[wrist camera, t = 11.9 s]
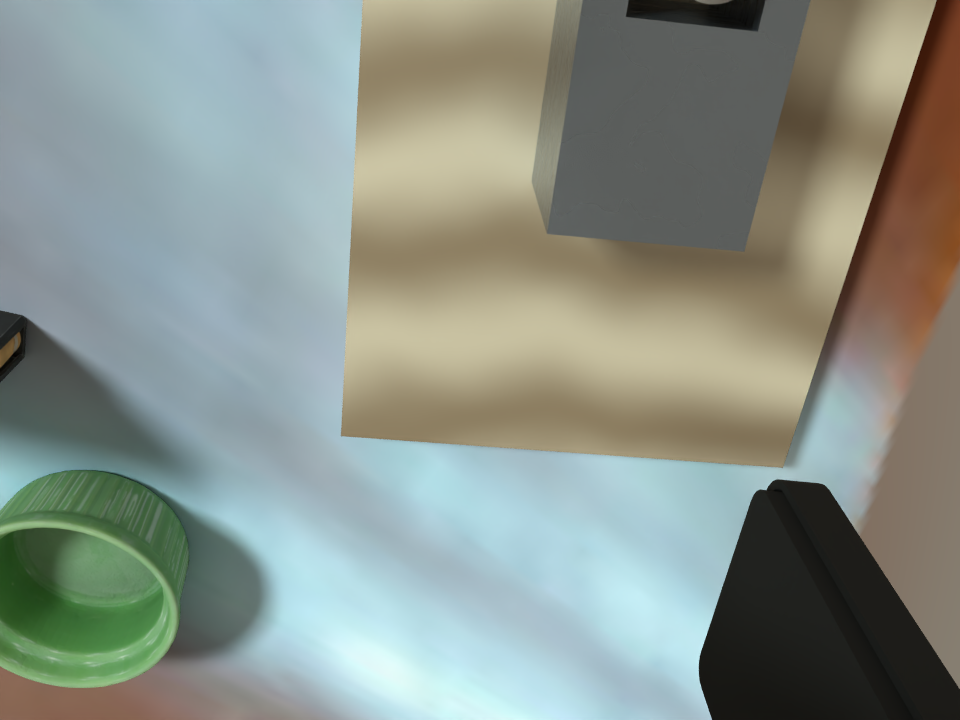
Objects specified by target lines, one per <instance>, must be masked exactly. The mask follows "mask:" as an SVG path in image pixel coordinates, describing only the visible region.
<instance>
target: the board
mask: <svg viewBox="0 0 960 720" xmlns="http://www.w3.org/2000/svg"><path fill="white" fill-rule="evenodd" d="M667 1H676V2H685V3H694V4H703V5H709V4H722V3H726V2H729V1H732V0H667ZM936 1H937V0H811V1H810V5H809V9H808V12H807V16H806V20H805V24H804V28H803V31H802V35H801V39H800V43H799V47H798V50H797V54H796V58H795V62H794V65H793V69H792V73H791V77H790V81H789V84H788V88H787V92H786V96H785V100H784V103H783V107H782V111H781V115H780V119H779V122H778V126H777V130H776V134H775V137H774V141H773V145H772V149H771V153H770V156H769V160H768V164H767V168H766V172H765V175H764V179H763V183H762V187H761V190H760V194H759V198H758V202H757V206H756V209H755V213H754V217H753V221H752V225H751V228H750V232H749V236H748V240H747V244H746V247H745V251H744V252H742V251H731V250H720V249H708V248H697V247H686V246H675V245H664V244H652V243H641V242H630V241H619V240H608V239H596V238H585V237H574V236H563V235H551V234H547V233H546V229H545V226H544V222H543V219H542V216H541V212H540V209H539V205H538V202H537V199H536V195H535V192H534V188H533V185H532V182H531V181H532V174H533V167H534V160H535V153H536V146H537V139H538V132H539V124H540V117H541V110H542V103H543V96H544V89H545V82H546V75H547V67H548V60H549V53H550V46H551V39H552V32H553V25H554V18H555V10H556V3H557V0H363V7H362V27H361V47H360V67H359V87H358V107H357V127H356V147H355V168H354V188H353V208H352V228H351V248H350V268H349V288H348V308H347V328H346V348H345V368H344V388H343V408H342V428H341V436H348V437H362V438H376V439H390V440H404V441H418V442H432V443H446V444H460V445H473V446H487V447H501V448H515V449H529V450H543V451H557V452H571V453H585V454H599V455H613V456H627V457H641V458H655V459H669V460H683V461H697V462H711V463H725V464H739V465H753V466H767V467H781V468H783V466H784V463H785V460H786V457H787V454H788V450H789V447H790V444H791V441H792V438H793V435H794V432H795V429H796V426H797V423H798V420H799V417H800V414H801V411H802V408H803V405H804V402H805V399H806V396H807V393H808V390H809V387H810V384H811V381H812V378H813V375H814V371H815V368H816V365H817V362H818V359H819V356H820V353H821V350H822V347H823V344H824V341H825V338H826V335H827V332H828V329H829V326H830V323H831V320H832V317H833V314H834V311H835V308H836V305H837V302H838V299H839V296H840V292H841V289H842V286H843V283H844V280H845V277H846V274H847V271H848V268H849V265H850V262H851V259H852V256H853V253H854V250H855V247H856V244H857V241H858V238H859V235H860V232H861V229H862V226H863V223H864V220H865V217H866V214H867V210H868V207H869V204H870V201H871V198H872V195H873V192H874V189H875V186H876V183H877V180H878V177H879V174H880V171H881V168H882V165H883V162H884V159H885V156H886V153H887V150H888V147H889V144H890V141H891V138H892V135H893V131H894V128H895V125H896V122H897V119H898V116H899V113H900V110H901V107H902V104H903V101H904V98H905V95H906V92H907V89H908V86H909V83H910V80H911V77H912V74H913V71H914V68H915V65H916V62H917V59H918V56H919V52H920V49H921V46H922V43H923V40H924V37H925V34H926V31H927V28H928V25H929V22H930V19H931V16H932V13H933V10H934V7H935V4H936Z"/></svg>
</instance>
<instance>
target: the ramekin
mask: <svg viewBox="0 0 960 720" xmlns="http://www.w3.org/2000/svg"><path fill="white" fill-rule="evenodd" d="M188 563H189V548H188V541H187V537H186V534H185V531H184V528H183V527H182V525H181V522H180V521H179V519H178V518H177V516H176V514H175V513H174V512H173V511H172V509H171V508H170V507H169V506H168V505H167V504H166V503H165V502H164V501H163V500H162V499H161V498H159V497H158V496H157V495H156V494H154V493H153V492H152V491H150V490H148V489H147V488H145V487H144V486H142V485H140V484H138V483H136V482H134V481H131V480H129V479H126V478H124V477H121V476H118V475H114V474H110V473H106V472H99V471H90V470H71V471H63V472H58V473H53V474H49V475H47V476H44V477H42V478H39V479H37V480H35V481H33V482H31V483H29V484H28V485H26V486H25V487H24V488H22V489H21V490H20V491H18V492H17V493H16V494H15V495H14V496H13V497H12V498H11V499H10V500H9V501H8V502H7V504H6V505H5V506H4V507H3V508H2V509H1V511H0V666H1V667H3V668H4V669H6V670H8V671H11V672H13V673H15V674H17V675H19V676H22V677H24V678H27V679H30V680H33V681H36V682H40V683H44V684H50V685H54V686H61V687H71V688H92V687H104V686H109V685H113V684H117V683H121V682H124V681H127V680H130V679H132V678H135V677H137V676H139V675H141V674H143V673H145V672H146V671H148V670H149V669H151V668H152V667H153V666H154V665H156V664H157V663H158V662H159V661H160V660H161V659H162V658H163V657H164V655H165V654H166V653H167V652H168V650H169V649H170V647H171V645H172V643H173V641H174V639H175V637H176V634H177V631H178V627H179V622H180V598H181V594H182V590H183V585H184V581H185V577H186V572H187V568H188Z"/></svg>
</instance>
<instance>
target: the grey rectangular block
mask: <svg viewBox="0 0 960 720" xmlns="http://www.w3.org/2000/svg"><path fill="white" fill-rule="evenodd" d="M810 1H811V0H732V1H729V2H726V3H722V4H709V5H703V4H694V3H685V2H676V1H667V0H557V3H556V10H555V18H554V25H553V32H552V39H551V46H550V53H549V60H548V67H547V75H546V82H545V89H544V96H543V103H542V110H541V117H540V124H539V132H538V139H537V146H536V153H535V160H534V167H533V174H532V181H531V182H532V185H533V188H534V192H535V195H536V199H537V202H538V205H539V209H540V212H541V216H542V219H543V222H544V226H545V229H546V233H547V234H551V235H563V236H574V237H585V238H596V239H608V240H619V241H630V242H641V243H652V244H664V245H675V246H686V247H697V248H708V249H720V250H731V251H742V252H744V251H745V247H746V244H747V240H748V236H749V232H750V228H751V225H752V221H753V217H754V213H755V209H756V206H757V202H758V198H759V194H760V190H761V187H762V183H763V179H764V175H765V172H766V168H767V164H768V160H769V156H770V153H771V149H772V145H773V141H774V137H775V134H776V130H777V126H778V122H779V119H780V115H781V111H782V107H783V103H784V100H785V96H786V92H787V88H788V84H789V81H790V77H791V73H792V69H793V65H794V62H795V58H796V54H797V50H798V47H799V43H800V39H801V35H802V31H803V28H804V24H805V20H806V16H807V12H808V9H809V5H810Z"/></svg>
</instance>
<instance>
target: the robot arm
mask: <svg viewBox="0 0 960 720" xmlns="http://www.w3.org/2000/svg"><path fill="white" fill-rule="evenodd" d="M699 678H700V684H701V688H702V691H703V694H704V697H705V700H706V703H707V706H708V709H709V712H710V715H711V718H712V720H960V689H959V688H958V686H957V685H956V683H955V681H954V680H953V678H952V677H951V675H950V674H949V672H948V671H947V669H946V668H945V666H944V665H943V663H942V662H941V660H940V659H939V657H938V655H937V654H936V652H935V651H934V649H933V648H932V646H931V645H930V643H929V642H928V640H927V639H926V637H925V636H924V634H923V633H922V631H921V629H920V628H919V626H918V625H917V623H916V622H915V620H914V619H913V617H912V616H911V614H910V613H909V611H908V610H907V608H906V607H905V605H904V604H903V602H902V600H901V599H900V598H899V596H898V594H897V593H896V591H895V590H894V588H893V587H892V585H891V584H890V582H889V581H888V579H887V578H886V576H885V575H884V573H883V571H882V570H881V568H880V567H879V565H878V564H877V562H876V561H875V559H874V558H873V556H872V555H871V553H870V552H869V550H868V549H867V547H866V545H865V544H864V542H863V541H862V539H861V538H860V536H859V535H858V533H857V532H856V530H855V529H854V527H853V526H852V524H851V523H850V521H849V520H848V518H847V516H846V515H845V513H844V512H843V510H842V509H841V507H840V506H839V504H838V503H837V501H836V500H835V498H834V497H833V495H832V494H831V492H830V490H829V489H828V488H827V487H826V486H825V485H823V484H819V483H809V482H799V481H789V480H778V479H777V480H775V481H773V482H772V483H771V484H770V485H769V486H768V488H767V490H758V491H757V492H756V493H755V494H754V495H753V498H752V500H751V503H750V506H749V509H748V512H747V515H746V518H745V521H744V524H743V527H742V530H741V533H740V536H739V539H738V542H737V545H736V548H735V551H734V554H733V557H732V560H731V563H730V566H729V569H728V572H727V575H726V578H725V581H724V584H723V587H722V590H721V593H720V596H719V599H718V602H717V605H716V609H715V612H714V615H713V618H712V621H711V624H710V627H709V630H708V633H707V636H706V639H705V642H704V645H703V648H702V651H701V655H700V660H699Z"/></svg>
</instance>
